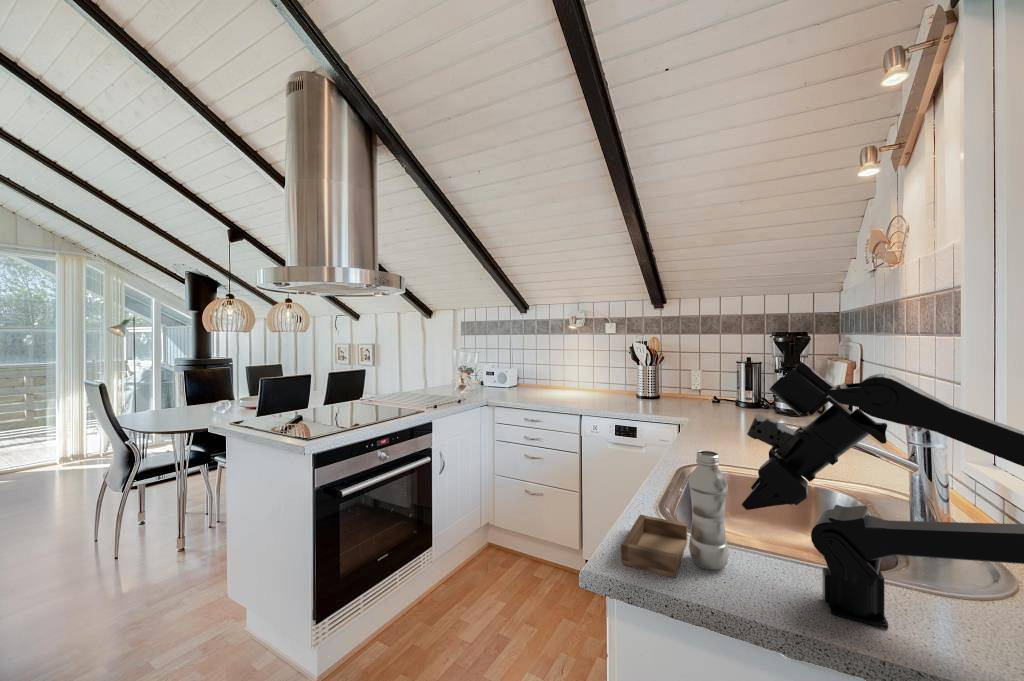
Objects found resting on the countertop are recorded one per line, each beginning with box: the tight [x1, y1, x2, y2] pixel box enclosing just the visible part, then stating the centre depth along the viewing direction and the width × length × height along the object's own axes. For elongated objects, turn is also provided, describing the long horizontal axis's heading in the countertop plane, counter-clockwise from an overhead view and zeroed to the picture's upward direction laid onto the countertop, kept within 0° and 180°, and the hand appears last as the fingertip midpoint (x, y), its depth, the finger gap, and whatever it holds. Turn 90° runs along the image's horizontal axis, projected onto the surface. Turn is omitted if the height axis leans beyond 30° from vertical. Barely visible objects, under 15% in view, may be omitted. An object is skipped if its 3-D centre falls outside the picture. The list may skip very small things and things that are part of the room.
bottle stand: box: [620, 514, 688, 579], centre depth 80 cm, size 9×14×4 cm, turn 150°
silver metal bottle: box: [688, 450, 730, 571], centre depth 75 cm, size 6×7×20 cm
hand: (748, 498), depth 71 cm, fingers open, 9 cm apart
